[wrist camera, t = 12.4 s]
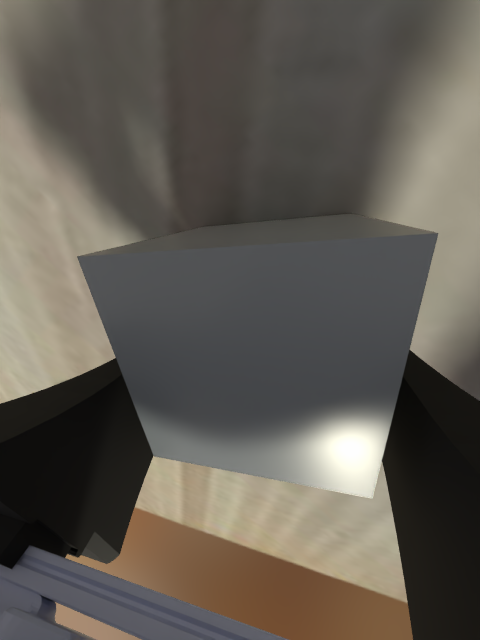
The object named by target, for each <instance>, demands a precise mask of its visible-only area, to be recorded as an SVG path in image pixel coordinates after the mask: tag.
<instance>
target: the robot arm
mask: <svg viewBox="0 0 480 640" xmlns="http://www.w3.org/2000/svg"><path fill="white" fill-rule="evenodd" d="M152 458H153V453H152V450H151V448H150V445H149V442H148V440H147V437H146V435H145V432H144V429H143V427H142V424H141V422H140V419H139V416H138V414H137V411H136V409H135V406H134V403H133V401H132V398H131V396H130V393H129V390H128V388H127V385H126V383H125V380H124V377H123V375H122V372H121V370H120V367H119V364H118V362H117V359H116V358H115V359H113V360H111V361H109V362H107V363H105V364H103V365H101V366H99V367H97V368H95V369H93V370H90V371H88V372H86V373H84V374H82V375H79V376H77V377H74V378H72V379H69V380H67V381H64V382H62V383H59V384H57V385H54V386H52V387H49V388H47V389H44V390H41V391H38V392H35V393H32V394H30V395H26V396H23V397H20V398H17V399H14V400H11V401H8V402H5V403H1V404H0V640H96V639H94V638H92V637H89V636H87V635H85V634H82V633H80V632H78V631H75V630H72V629H70V628H68V627H65V626H63V625H60V624H57V623H56V621H55V613H56V604H55V602H57V603H59V604H61V605H64V606H66V607H69V608H71V609H73V610H75V611H77V612H80V613H82V614H84V615H87V616H89V617H92V618H94V619H96V620H98V621H101V622H103V623H105V624H107V625H110V626H112V627H114V628H117V629H119V630H121V631H124V632H126V633H128V634H131V635H133V636H135V637H138V638H140V639H142V640H288V639H285V638H283V637H280V636H277V635H274V634H272V633H269V632H266V631H263V630H261V629H258V628H255V627H252V626H250V625H246V624H244V623H241V622H239V621H236V620H233V619H230V618H228V617H225V616H222V615H220V614H217V613H214V612H211V611H209V610H206V609H203V608H200V607H197V606H195V605H192V604H189V603H187V602H184V601H181V600H178V599H176V598H173V597H170V596H167V595H165V594H162V593H159V592H156V591H154V590H151V589H148V588H145V587H143V586H140V585H137V584H134V583H131V582H129V581H126V580H124V579H120V578H118V577H115V576H112V575H110V574H107V573H104V572H102V571H99V570H96V569H93V568H91V567H88V566H85V565H82V564H80V563H77V562H74V561H71V560H69V559H66V558H65V557H66V555H67V554H69V555H72V556H75V557H79V556H80V555H83V556H86V557H89V558H92V559H94V560H98V561H100V562H103V563H106V564H107V563H110V562H111V561H113V560H114V559H115V558H116V557H118V556H119V554H120V551H121V548H122V545H123V541H124V538H125V535H126V532H127V528H128V525H129V522H130V519H131V516H132V513H133V510H134V507H135V504H136V501H137V498H138V495H139V493H140V490H141V487H142V484H143V481H144V478H145V476H146V473H147V471H148V468H149V466H150V463H151V460H152ZM382 463H383V466H384V471H385V476H386V481H387V486H388V491H389V496H390V501H391V506H392V512H393V517H394V522H395V528H396V533H397V539H398V545H399V551H400V557H401V563H402V569H403V575H404V581H405V587H406V594H407V601H408V606H409V614H410V620H411V627H412V634H413V640H480V401H479V400H477V399H476V398H474V397H473V396H471V395H469V394H468V393H467V392H465V391H464V390H462V389H461V388H459V387H458V386H457V385H455V384H454V383H452V382H451V381H449V380H448V379H447V378H445V377H444V376H442V375H441V374H440V373H438V372H437V371H436V370H434V369H433V368H432V367H431V366H429V365H428V364H427V363H425V362H424V361H423V360H422V359H420V358H419V357H418V356H417V355H415V354H414V353H413V352H412V351H410V350H409V353H408V357H407V361H406V365H405V369H404V373H403V377H402V381H401V385H400V389H399V393H398V397H397V401H396V405H395V409H394V413H393V417H392V422H391V426H390V430H389V434H388V438H387V442H386V446H385V450H384V454H383V458H382Z"/></svg>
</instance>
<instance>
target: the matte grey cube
mask: <svg viewBox="0 0 480 640" xmlns="http://www.w3.org/2000/svg"><path fill="white" fill-rule="evenodd" d="M437 236H438V233H435V232H431V231H426V230H422V229H418V228H413V227H409V226H405V225H400V224H396V223H392V222H387V221H383V220H378V219H374V218H370V217H365V216H361V215H357V214H352V213H350V214H339V215H327V216H316V217H305V218H294V219H283V220H272V221H261V222H250V223H239V224H228V225H217V226H206V227H200V228H196V229H192V230H187V231H183V232H179V233H175V234H171V235H166V236H162V237H158V238H154V239H149V240H145V241H141V242H137V243H132V244H128V245H124V246H120V247H116V248H111V249H107V250H103V251H99V252H94V253H90V254H86V255H82V256H77V258H78V260H79V263H80V266H81V268H82V271H83V273H84V276H85V279H86V281H87V284H88V286H89V289H90V292H91V294H92V297H93V299H94V302H95V305H96V307H97V310H98V312H99V315H100V318H101V320H102V323H103V325H104V328H105V331H106V333H107V336H108V338H109V341H110V344H111V346H112V349H113V351H114V354H115V357H116V359H117V362H118V364H119V367H120V370H121V372H122V375H123V377H124V380H125V383H126V385H127V388H128V390H129V393H130V396H131V398H132V401H133V403H134V406H135V409H136V411H137V414H138V416H139V419H140V422H141V424H142V427H143V429H144V432H145V435H146V437H147V440H148V442H149V445H150V448H151V450H152V453H153V455H154V456H155V457H161V458H166V459H171V460H176V461H181V462H186V463H191V464H197V465H202V466H207V467H212V468H217V469H222V470H228V471H233V472H238V473H243V474H248V475H253V476H258V477H264V478H269V479H274V480H279V481H284V482H289V483H295V484H300V485H305V486H310V487H315V488H320V489H325V490H331V491H336V492H341V493H346V494H351V495H356V496H362V497H367V498H373V494H374V490H375V486H376V482H377V478H378V474H379V470H380V466H381V462H382V458H383V454H384V450H385V446H386V442H387V438H388V434H389V430H390V426H391V422H392V417H393V413H394V409H395V405H396V401H397V397H398V393H399V389H400V385H401V381H402V377H403V373H404V369H405V365H406V361H407V357H408V353H409V349H410V345H411V341H412V337H413V333H414V329H415V325H416V321H417V317H418V313H419V309H420V305H421V301H422V297H423V293H424V289H425V285H426V281H427V277H428V273H429V269H430V265H431V260H432V256H433V252H434V248H435V244H436V240H437Z"/></svg>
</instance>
